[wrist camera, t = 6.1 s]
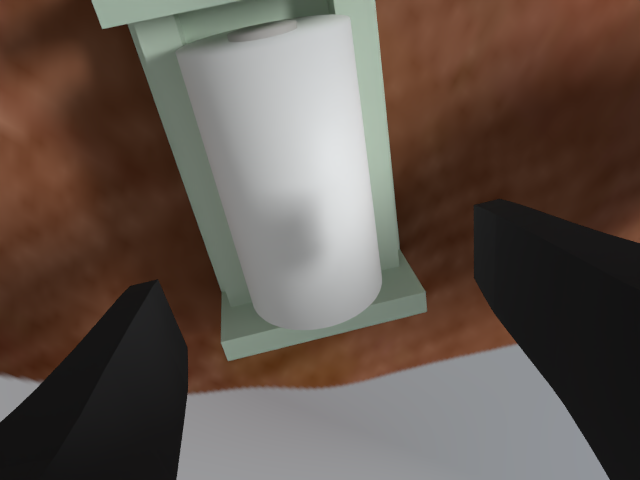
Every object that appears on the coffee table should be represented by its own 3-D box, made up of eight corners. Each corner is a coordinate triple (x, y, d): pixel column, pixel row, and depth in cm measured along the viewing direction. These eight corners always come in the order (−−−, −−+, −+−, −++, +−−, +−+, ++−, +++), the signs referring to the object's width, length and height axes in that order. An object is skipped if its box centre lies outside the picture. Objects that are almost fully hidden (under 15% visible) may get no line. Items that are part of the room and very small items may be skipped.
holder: (117, -20, 15) (86, -15, 12) (361, -69, 16) (399, -78, 12) (227, 299, 22) (227, 361, 18) (396, 258, 22) (426, 311, 19)
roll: (176, 36, 15) (169, 61, 11) (325, 4, 16) (373, 17, 12) (246, 270, 20) (261, 350, 16) (359, 239, 21) (402, 309, 16)
